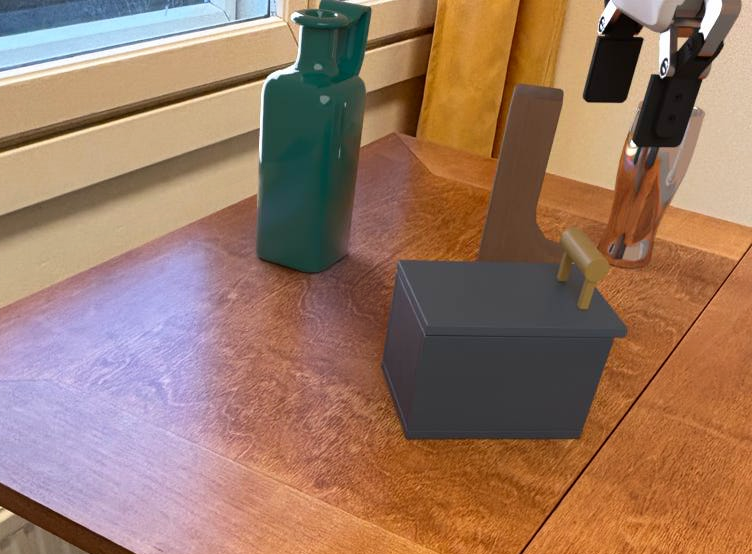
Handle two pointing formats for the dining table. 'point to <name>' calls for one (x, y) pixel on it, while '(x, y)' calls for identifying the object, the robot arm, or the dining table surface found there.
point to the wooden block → (522, 180)
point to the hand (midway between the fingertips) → (627, 122)
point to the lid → (515, 295)
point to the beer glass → (645, 194)
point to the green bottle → (313, 140)
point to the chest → (488, 380)
